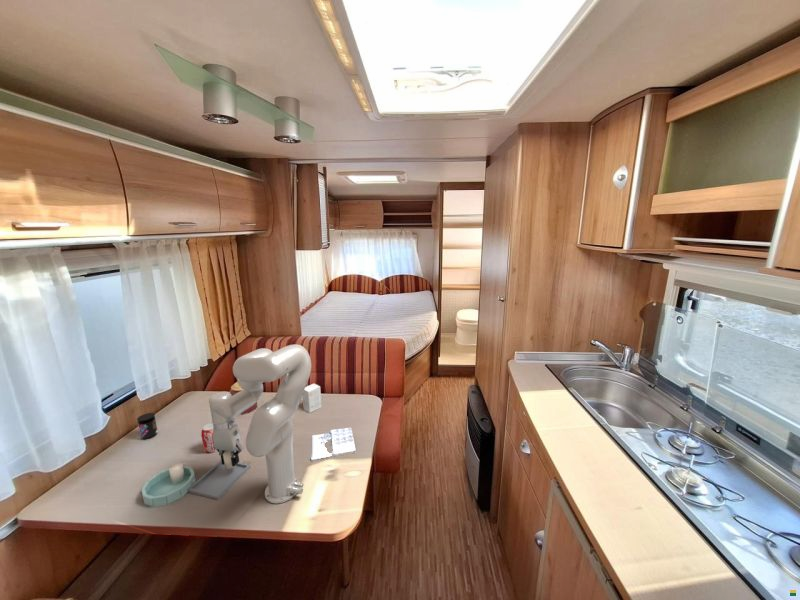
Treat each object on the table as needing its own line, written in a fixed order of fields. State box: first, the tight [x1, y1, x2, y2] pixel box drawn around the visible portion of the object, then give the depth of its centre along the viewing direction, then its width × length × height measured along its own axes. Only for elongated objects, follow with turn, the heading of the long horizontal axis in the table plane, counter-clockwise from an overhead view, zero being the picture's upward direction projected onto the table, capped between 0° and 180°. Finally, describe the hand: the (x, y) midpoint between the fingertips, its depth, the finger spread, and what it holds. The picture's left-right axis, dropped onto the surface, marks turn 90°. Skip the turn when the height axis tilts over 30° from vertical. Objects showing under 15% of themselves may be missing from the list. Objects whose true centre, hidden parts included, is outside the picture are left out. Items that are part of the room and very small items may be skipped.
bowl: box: [141, 465, 197, 508], centre depth 120 cm, size 16×16×4 cm
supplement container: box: [136, 412, 159, 441], centre depth 151 cm, size 7×7×10 cm
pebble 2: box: [223, 451, 237, 469], centre depth 128 cm, size 4×4×6 cm
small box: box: [302, 383, 322, 414], centre depth 176 cm, size 8×6×13 cm
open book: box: [310, 427, 357, 462], centre depth 147 cm, size 19×20×2 cm
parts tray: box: [187, 460, 251, 501], centre depth 125 cm, size 14×17×2 cm
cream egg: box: [169, 462, 185, 485], centre depth 123 cm, size 4×4×6 cm
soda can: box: [201, 422, 218, 454], centre depth 142 cm, size 7×7×12 cm
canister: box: [229, 381, 258, 415], centre depth 175 cm, size 13×13×18 cm
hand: (230, 462), depth 128 cm, fingers closed on pebble 2, 4 cm apart
